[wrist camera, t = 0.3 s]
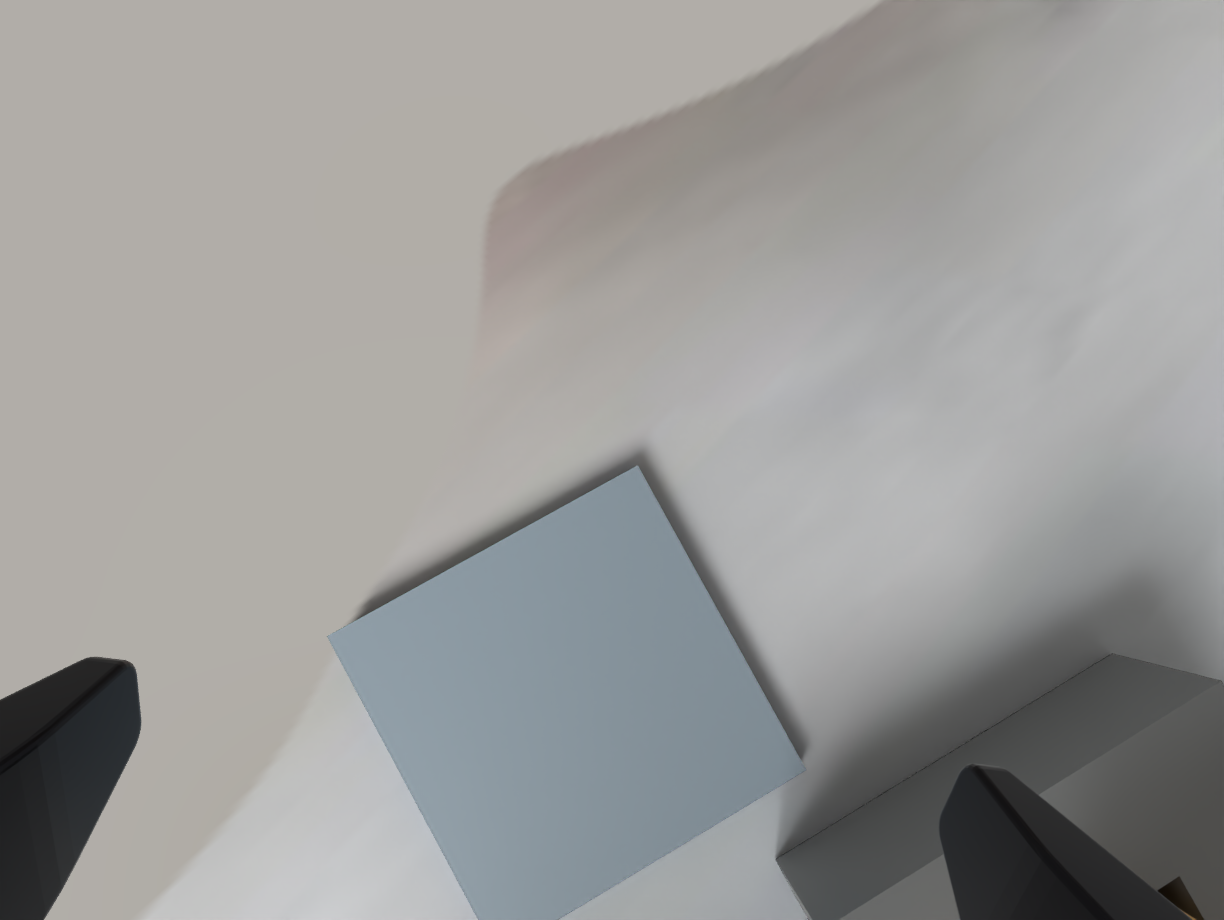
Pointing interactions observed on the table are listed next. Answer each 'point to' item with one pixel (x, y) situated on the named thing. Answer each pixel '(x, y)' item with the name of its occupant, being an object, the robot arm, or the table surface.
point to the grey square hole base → (1050, 797)
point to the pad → (567, 705)
